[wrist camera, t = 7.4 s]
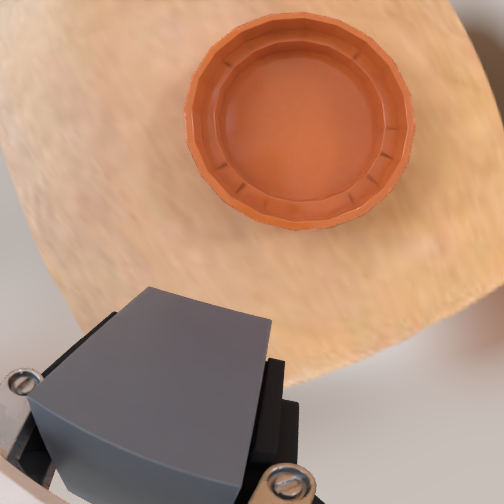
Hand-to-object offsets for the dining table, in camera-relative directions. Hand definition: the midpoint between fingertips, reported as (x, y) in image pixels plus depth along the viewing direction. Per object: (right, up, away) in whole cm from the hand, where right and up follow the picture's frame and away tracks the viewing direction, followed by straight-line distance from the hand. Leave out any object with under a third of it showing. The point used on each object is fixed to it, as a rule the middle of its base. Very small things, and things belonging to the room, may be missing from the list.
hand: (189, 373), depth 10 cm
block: (0, 0, +1) cm, 1 cm away
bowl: (+6, +15, +13) cm, 21 cm away
